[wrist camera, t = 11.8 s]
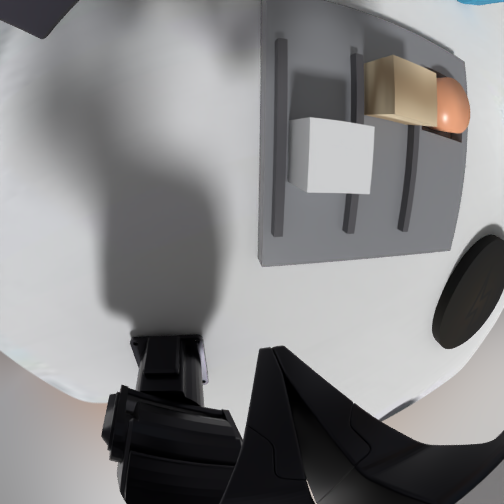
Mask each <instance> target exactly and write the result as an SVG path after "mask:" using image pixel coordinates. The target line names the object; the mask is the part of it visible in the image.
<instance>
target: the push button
mask: <svg viewBox="0 0 504 504" xmlns="http://www.w3.org/2000/svg"><path fill="white" fill-rule="evenodd" d="M436 80H437V127H433V126H427V127H428V128H430V129H432V130H435V131H444V132H451V133H462V132H464V131H465V130H466V128H467V126H468V124H469V120H470V105H469V101H468V98H467V95H466V93H465V91H464V89H463V87H462V86H461V85H460V83H459V82H458V81H456V80H455V79H453V78H451V77H444V78H436Z"/></svg>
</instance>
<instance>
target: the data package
mask: <svg viewBox="0 0 504 504" xmlns="http://www.w3.org/2000/svg"><path fill="white" fill-rule="evenodd" d="M457 1H459V2H461V3H464V4H472V5H484V4H491V3H498V2H504V0H457Z"/></svg>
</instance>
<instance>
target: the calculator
mask: <svg viewBox="0 0 504 504" xmlns="http://www.w3.org/2000/svg"><path fill="white" fill-rule="evenodd" d="M78 1H79V0H0V20H1V21H3V22H6V23H8V24H10V25H13V26H15V27H17V28H19V29H21V30H23V31H26V32H28V33H30V34H32V35H34V36H36V37H38V38H40V39H44V38H46V37H47V36H48V34H49V33H50V32H51V31H52V30H53V28H54V27H55V26H56V25H57V24H58V22H59V21H60V20H61V19H62V18H63V17H64V16H65V14H66V13H67V12H68V11H69V10H70V9H71V8H72V7H73V6H74V5H75V4H76V3H77V2H78Z"/></svg>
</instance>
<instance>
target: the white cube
mask: <svg viewBox="0 0 504 504" xmlns="http://www.w3.org/2000/svg"><path fill="white" fill-rule="evenodd" d="M374 129H375V127H373V126H368V125H363V124H357V123H351V122H344V121H337V120H330V119H322V118H313V117H308V118H301V119H295V120H289V152H288V181H287V182H289V183H291V184H293V185H294V186H296V187H298V188H300V189H302V190H303V191H305V192H307V193H351V194H370V186H371V176H372V164H373V150H374Z"/></svg>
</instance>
